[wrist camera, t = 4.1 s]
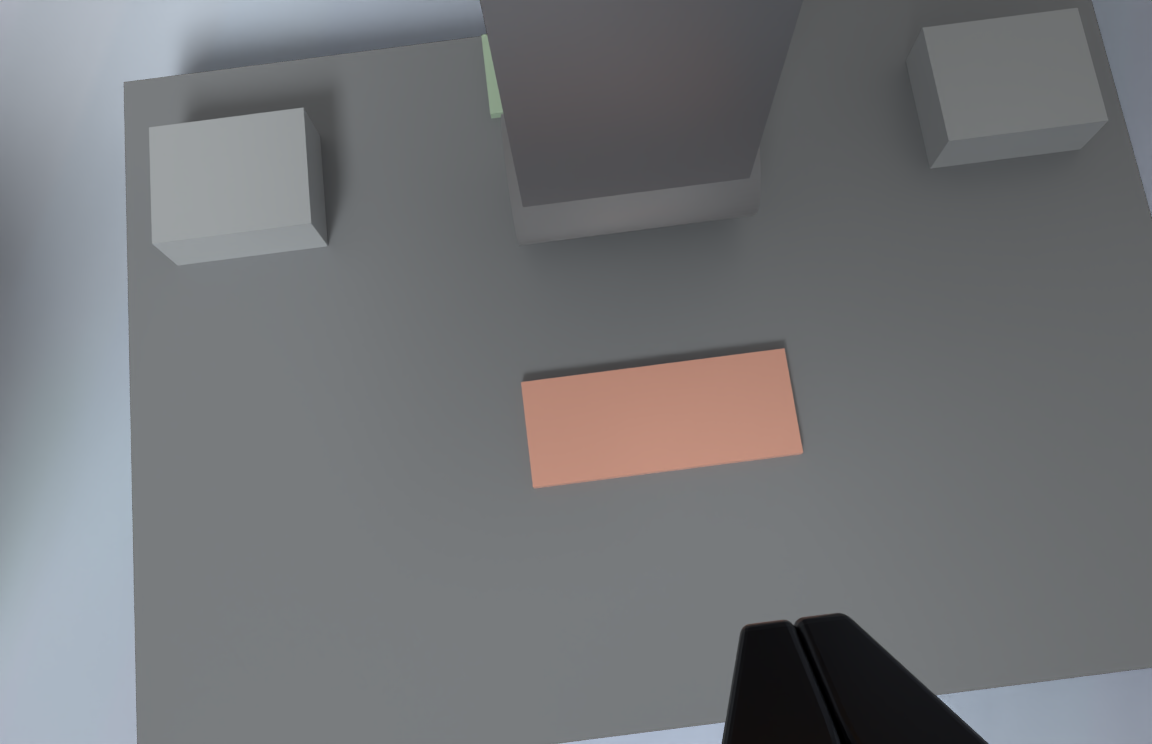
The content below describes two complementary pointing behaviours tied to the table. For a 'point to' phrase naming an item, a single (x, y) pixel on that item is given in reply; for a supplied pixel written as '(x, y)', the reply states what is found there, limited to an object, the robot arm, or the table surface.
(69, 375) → the table surface
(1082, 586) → the panel
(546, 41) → the handle
